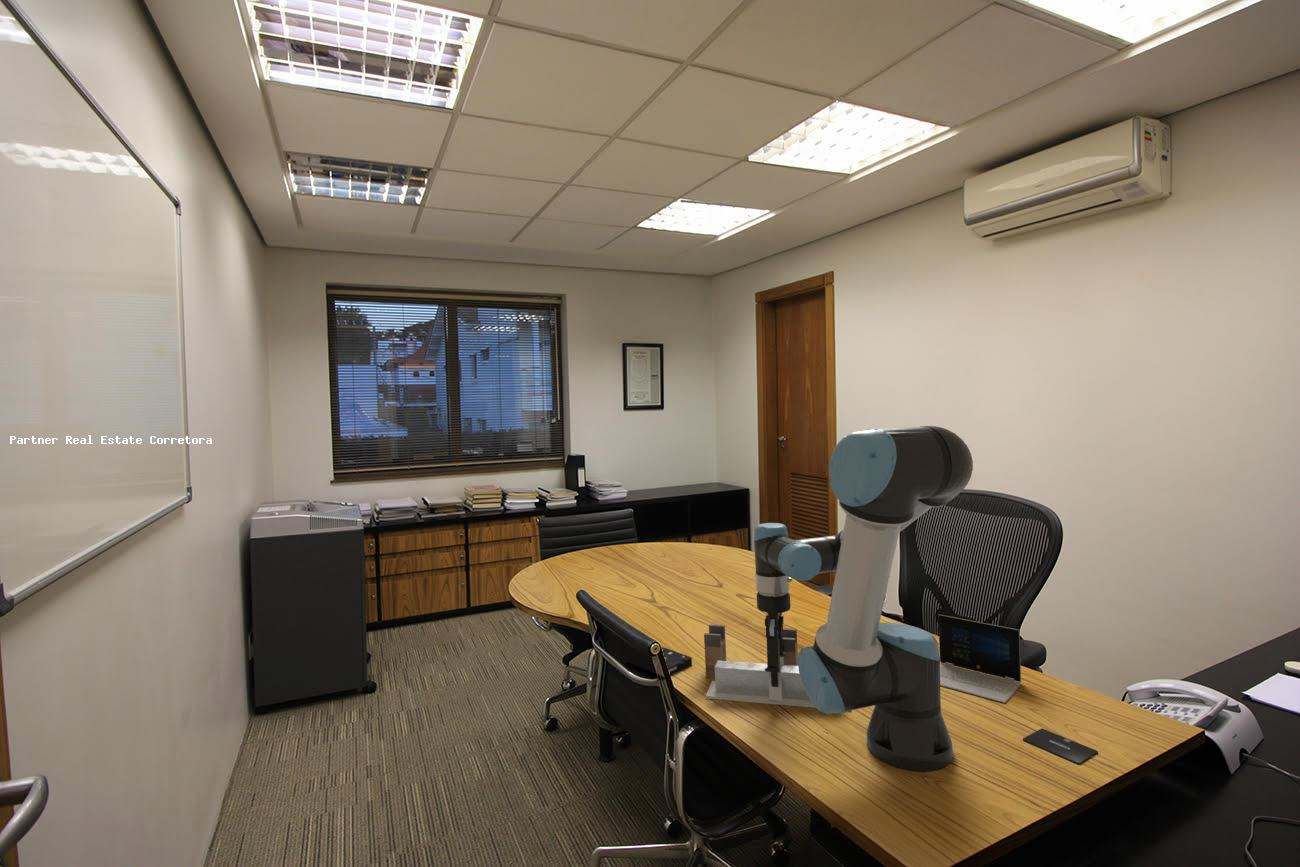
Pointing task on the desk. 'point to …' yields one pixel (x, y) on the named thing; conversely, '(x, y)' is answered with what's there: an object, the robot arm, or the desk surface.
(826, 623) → the robot arm
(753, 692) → the rail
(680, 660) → the disk drive
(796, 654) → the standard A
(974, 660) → the laptop
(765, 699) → the mat
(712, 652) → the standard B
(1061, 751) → the solid state drive
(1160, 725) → the desk surface
